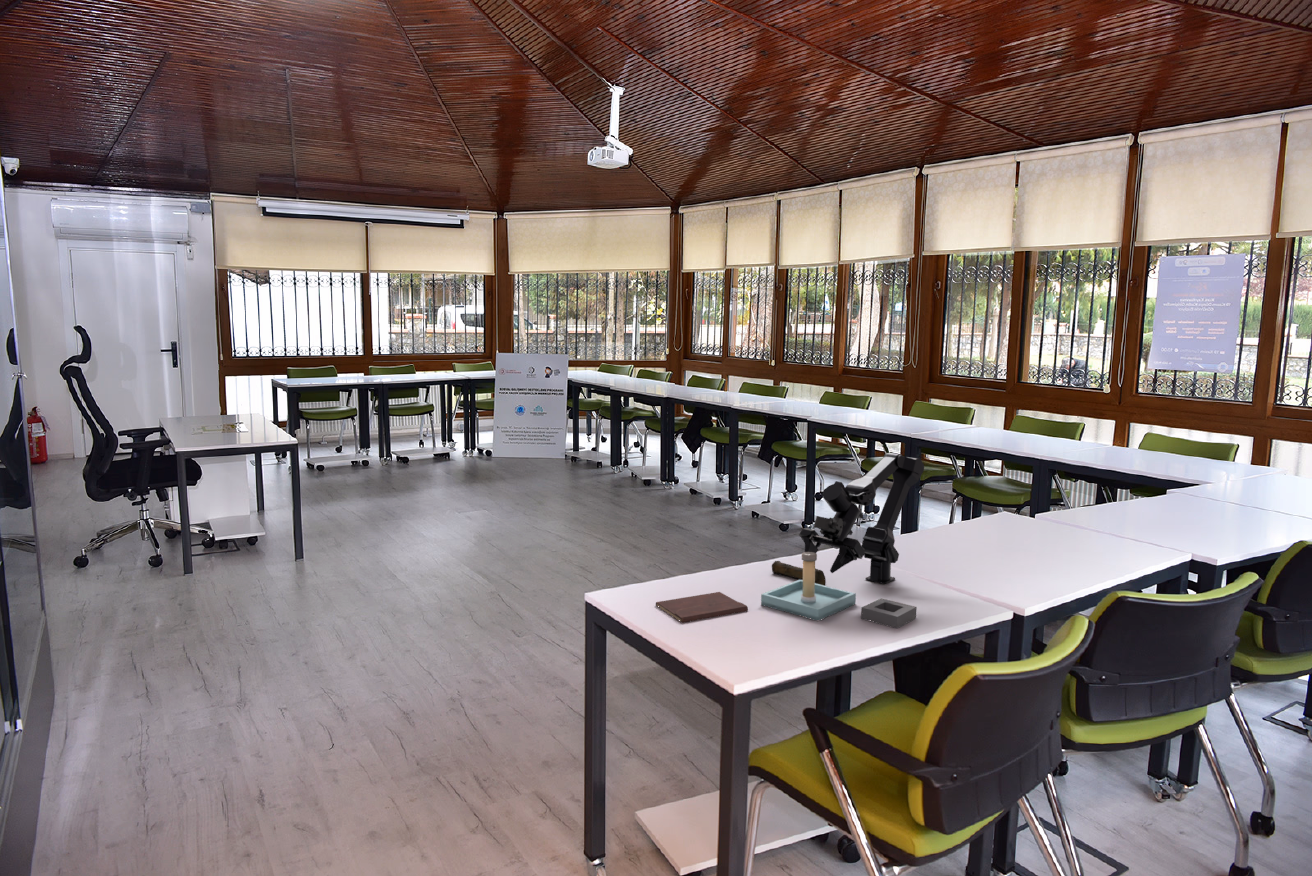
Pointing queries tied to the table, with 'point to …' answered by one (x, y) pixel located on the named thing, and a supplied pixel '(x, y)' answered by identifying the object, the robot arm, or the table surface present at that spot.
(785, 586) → the parts tray
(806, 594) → the fuse
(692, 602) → the notebook
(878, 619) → the socket block
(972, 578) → the table surface
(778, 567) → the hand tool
